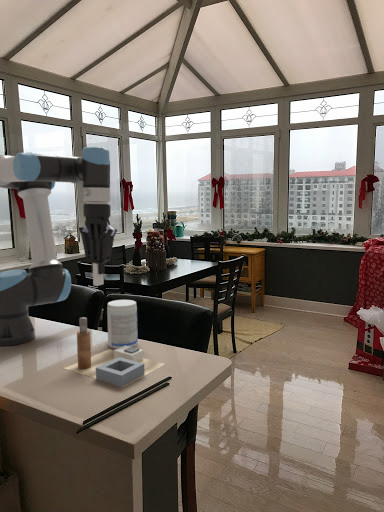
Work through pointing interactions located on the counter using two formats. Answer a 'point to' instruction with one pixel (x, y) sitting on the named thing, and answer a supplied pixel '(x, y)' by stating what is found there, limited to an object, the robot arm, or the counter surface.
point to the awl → (83, 345)
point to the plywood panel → (106, 357)
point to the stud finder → (129, 353)
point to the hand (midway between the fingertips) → (98, 284)
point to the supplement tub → (122, 323)
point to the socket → (120, 371)
